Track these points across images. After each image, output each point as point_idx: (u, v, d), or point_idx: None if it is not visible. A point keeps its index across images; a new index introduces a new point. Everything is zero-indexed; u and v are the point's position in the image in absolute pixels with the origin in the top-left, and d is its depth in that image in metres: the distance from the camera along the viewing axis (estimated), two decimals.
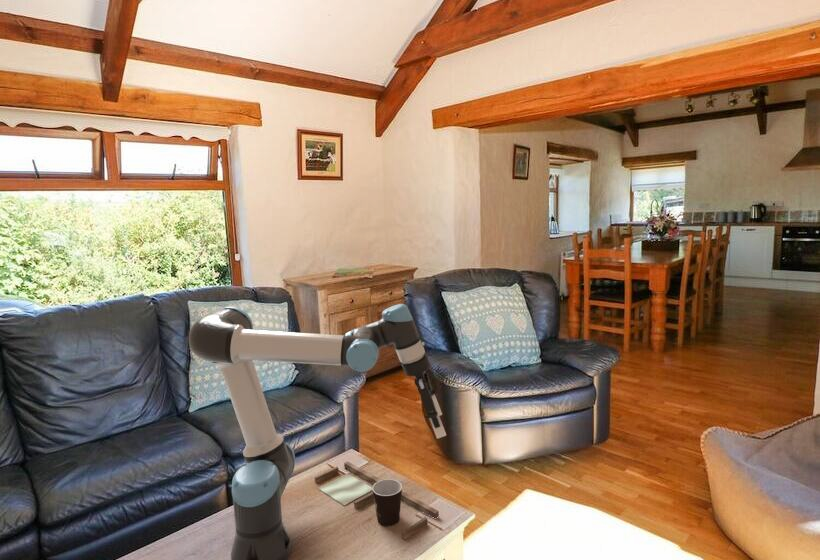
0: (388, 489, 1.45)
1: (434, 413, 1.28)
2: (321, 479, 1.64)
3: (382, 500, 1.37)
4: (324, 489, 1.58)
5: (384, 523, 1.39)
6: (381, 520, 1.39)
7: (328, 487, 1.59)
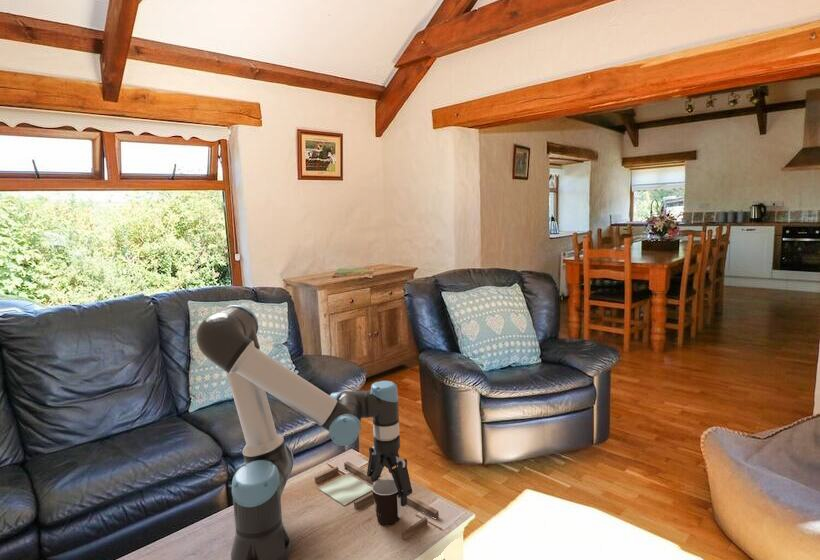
0: (388, 489, 1.45)
1: (410, 491, 1.37)
2: (321, 479, 1.64)
3: (381, 500, 1.37)
4: (324, 489, 1.58)
5: (384, 523, 1.39)
6: (381, 520, 1.39)
7: (328, 487, 1.59)
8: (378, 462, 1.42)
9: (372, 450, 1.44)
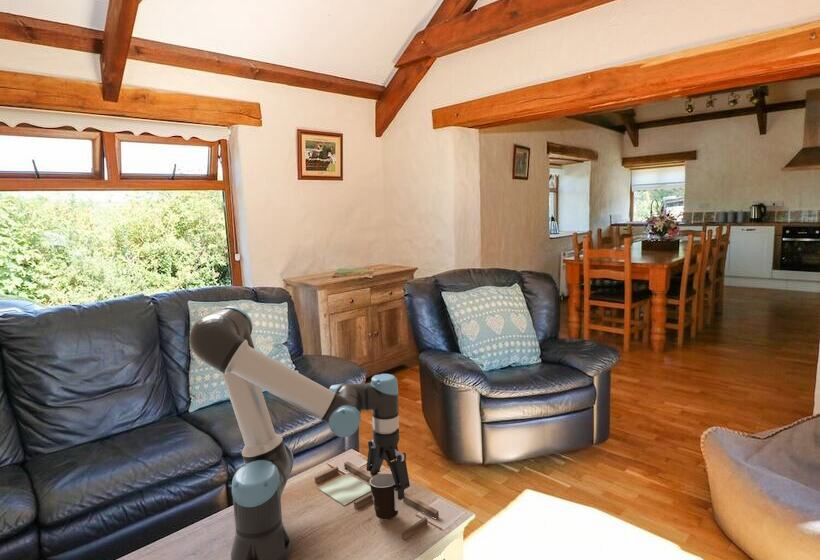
0: (386, 483, 1.45)
1: (408, 485, 1.37)
2: (321, 479, 1.64)
3: (378, 492, 1.38)
4: (324, 489, 1.58)
5: (382, 516, 1.39)
6: (379, 513, 1.39)
7: (328, 487, 1.59)
8: (377, 455, 1.41)
9: (371, 443, 1.44)
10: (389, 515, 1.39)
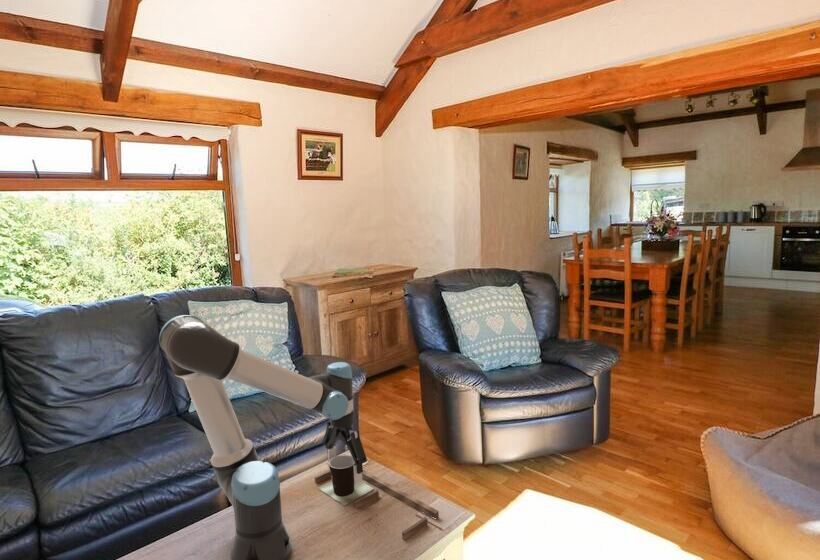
0: (345, 464, 1.60)
1: (365, 459, 1.50)
2: (321, 479, 1.64)
3: (336, 473, 1.52)
4: (324, 489, 1.58)
5: (339, 493, 1.54)
6: (336, 491, 1.54)
7: (328, 487, 1.59)
8: (333, 435, 1.56)
9: (329, 424, 1.59)
10: (345, 493, 1.54)
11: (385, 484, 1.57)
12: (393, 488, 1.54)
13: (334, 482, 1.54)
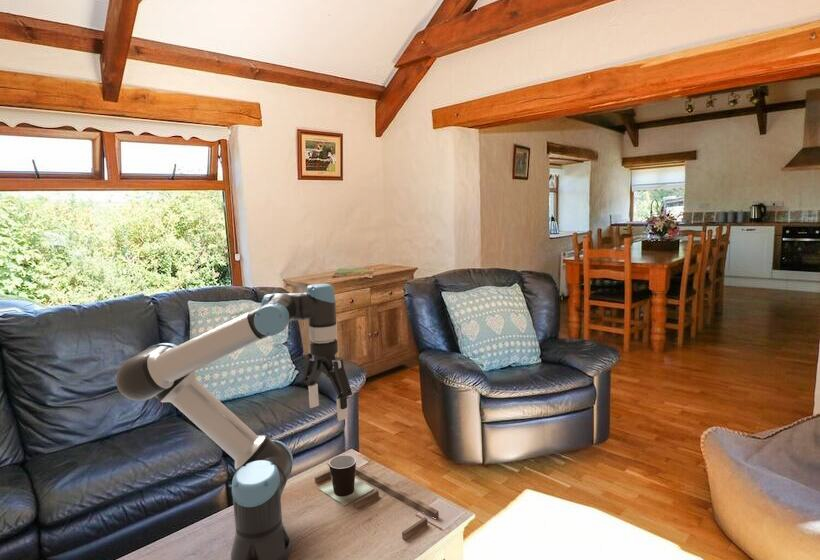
0: (345, 464, 1.60)
1: (350, 392, 1.31)
2: (321, 479, 1.64)
3: (336, 473, 1.52)
4: (324, 489, 1.58)
5: (339, 493, 1.54)
6: (336, 491, 1.54)
7: (328, 487, 1.59)
8: (315, 367, 1.37)
9: (310, 356, 1.40)
10: (345, 493, 1.54)
11: (385, 484, 1.57)
12: (393, 488, 1.54)
13: (334, 482, 1.54)
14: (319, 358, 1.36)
